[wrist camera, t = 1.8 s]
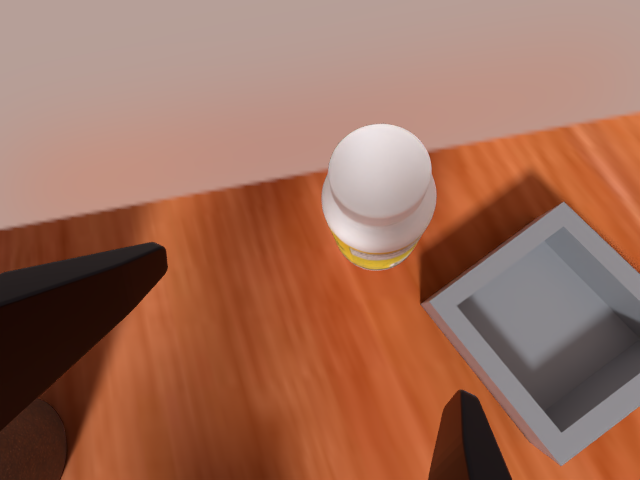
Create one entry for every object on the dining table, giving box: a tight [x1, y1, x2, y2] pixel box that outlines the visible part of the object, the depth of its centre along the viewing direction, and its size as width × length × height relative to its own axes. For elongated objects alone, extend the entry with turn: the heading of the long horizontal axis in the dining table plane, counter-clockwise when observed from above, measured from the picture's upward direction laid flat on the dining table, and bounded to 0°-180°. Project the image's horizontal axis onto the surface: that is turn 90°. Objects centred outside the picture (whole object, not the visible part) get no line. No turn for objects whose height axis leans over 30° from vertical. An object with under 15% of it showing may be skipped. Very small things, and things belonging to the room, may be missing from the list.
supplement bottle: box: [322, 124, 437, 270], centre depth 17 cm, size 5×5×10 cm
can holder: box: [421, 202, 640, 466], centre depth 18 cm, size 9×9×3 cm
